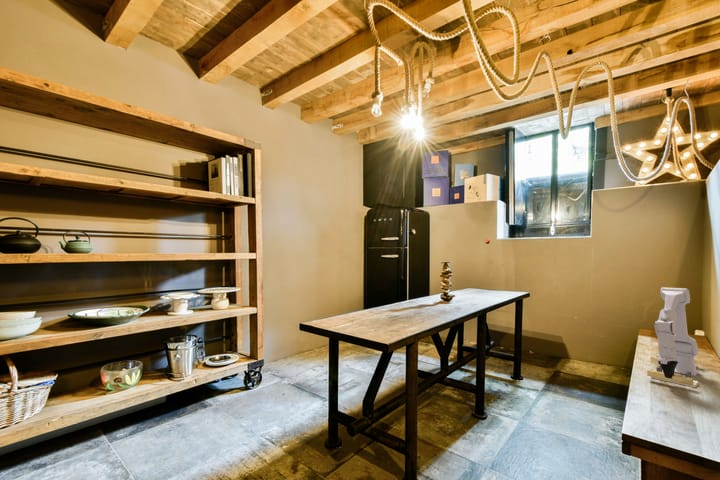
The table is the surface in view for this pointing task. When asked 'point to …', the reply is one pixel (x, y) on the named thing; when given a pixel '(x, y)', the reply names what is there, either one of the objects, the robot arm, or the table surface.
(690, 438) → the table surface
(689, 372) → the hook stand
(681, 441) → the table surface
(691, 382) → the wooden bar
